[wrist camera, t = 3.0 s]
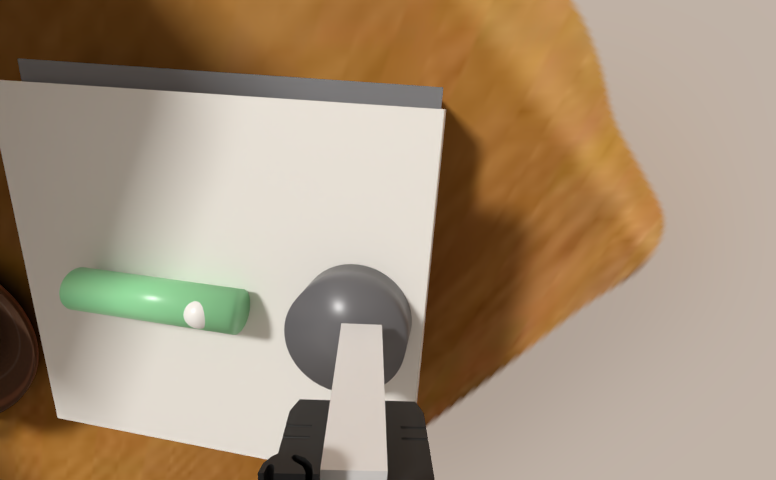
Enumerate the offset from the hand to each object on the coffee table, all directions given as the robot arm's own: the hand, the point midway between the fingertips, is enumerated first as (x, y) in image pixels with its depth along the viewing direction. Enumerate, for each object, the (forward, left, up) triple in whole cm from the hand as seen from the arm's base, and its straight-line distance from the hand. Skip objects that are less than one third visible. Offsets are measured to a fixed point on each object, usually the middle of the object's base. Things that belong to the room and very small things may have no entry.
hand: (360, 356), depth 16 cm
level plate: (-7, 0, -6) cm, 9 cm away
